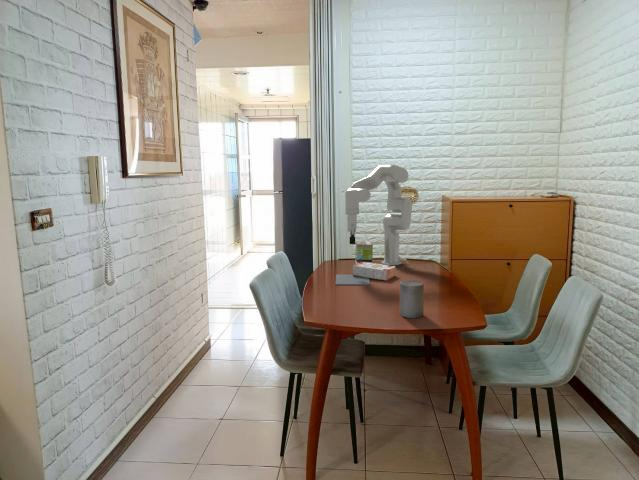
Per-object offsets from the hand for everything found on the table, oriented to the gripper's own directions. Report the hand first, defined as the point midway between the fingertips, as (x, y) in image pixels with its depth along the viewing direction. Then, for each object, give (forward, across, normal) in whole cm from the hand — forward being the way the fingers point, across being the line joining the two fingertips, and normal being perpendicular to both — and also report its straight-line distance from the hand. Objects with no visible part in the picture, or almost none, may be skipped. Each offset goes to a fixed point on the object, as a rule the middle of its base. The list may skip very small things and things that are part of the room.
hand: (352, 243), depth 266 cm
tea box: (+19, -27, +8) cm, 34 cm away
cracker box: (+14, 0, +2) cm, 14 cm away
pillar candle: (+18, +75, +22) cm, 80 cm away
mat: (+18, +14, 0) cm, 22 cm away
